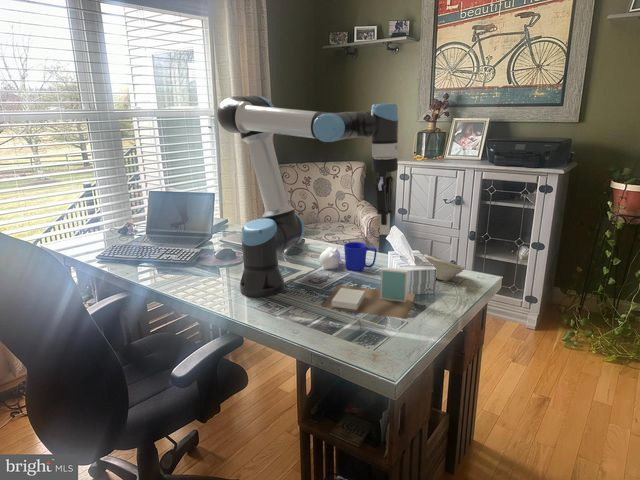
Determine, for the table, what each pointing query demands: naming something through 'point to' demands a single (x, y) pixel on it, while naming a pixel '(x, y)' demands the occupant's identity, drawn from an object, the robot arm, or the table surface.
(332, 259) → the crumpled paper ball
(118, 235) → the table surface
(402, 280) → the tile
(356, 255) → the mug
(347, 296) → the tile
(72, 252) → the table surface
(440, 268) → the bowl
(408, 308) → the board
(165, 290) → the table surface
